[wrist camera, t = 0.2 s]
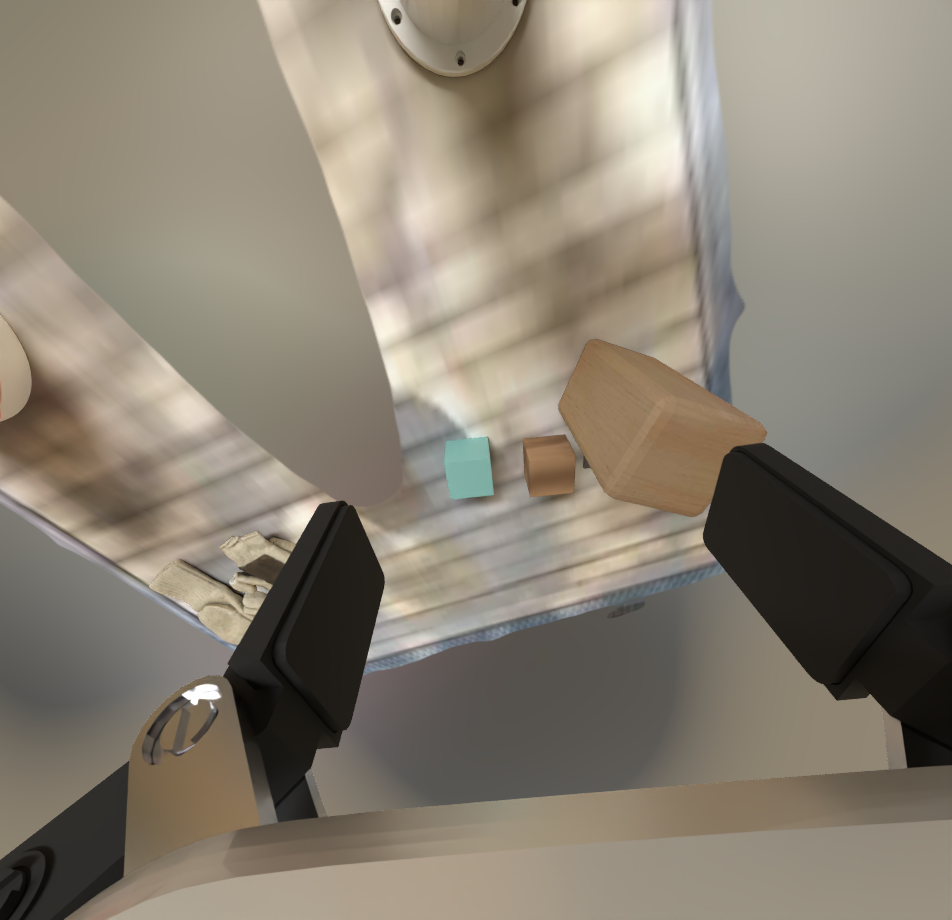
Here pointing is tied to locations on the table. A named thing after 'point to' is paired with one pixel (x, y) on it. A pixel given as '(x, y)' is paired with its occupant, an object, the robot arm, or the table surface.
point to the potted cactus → (12, 373)
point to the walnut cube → (549, 465)
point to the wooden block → (651, 429)
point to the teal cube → (468, 468)
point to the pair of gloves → (216, 599)
